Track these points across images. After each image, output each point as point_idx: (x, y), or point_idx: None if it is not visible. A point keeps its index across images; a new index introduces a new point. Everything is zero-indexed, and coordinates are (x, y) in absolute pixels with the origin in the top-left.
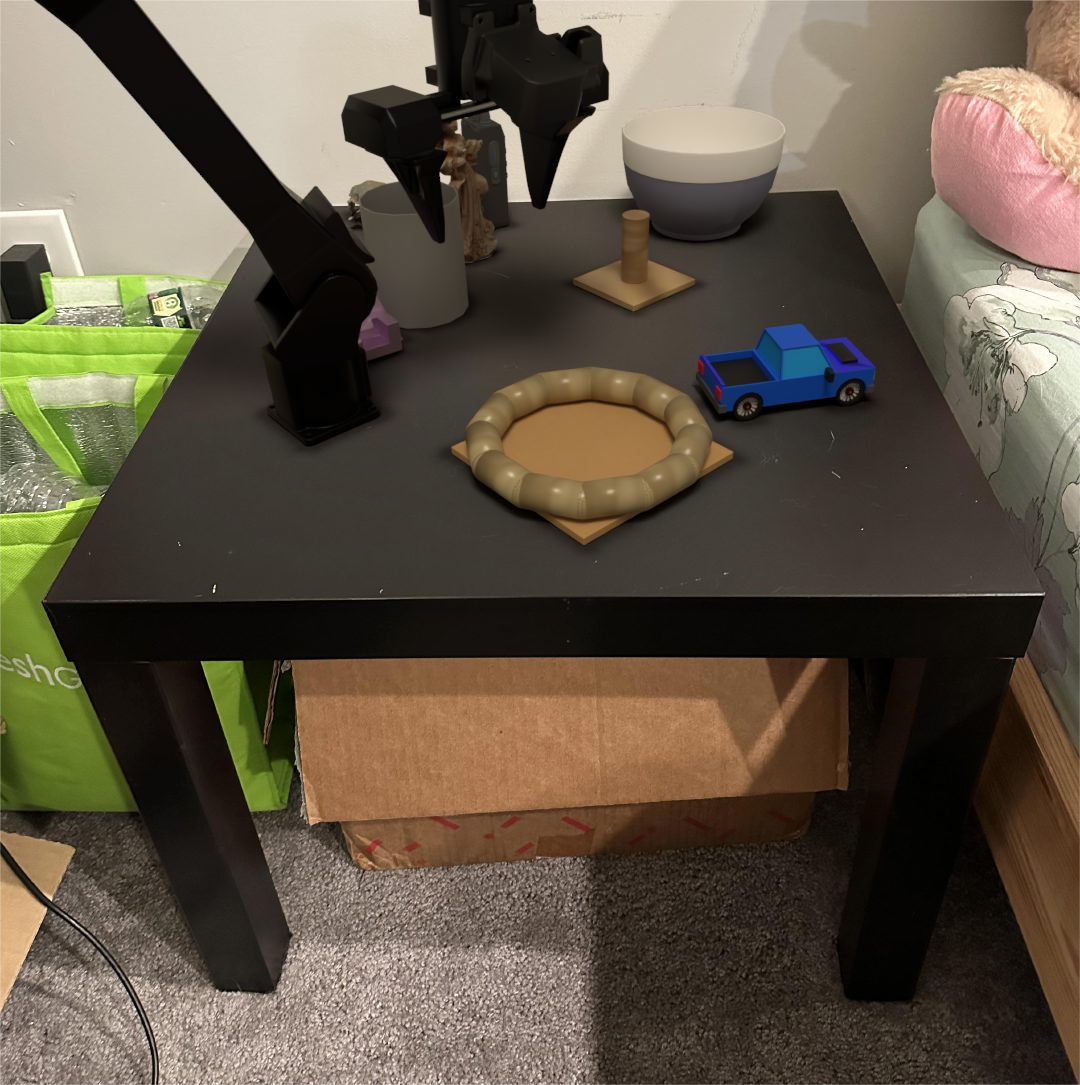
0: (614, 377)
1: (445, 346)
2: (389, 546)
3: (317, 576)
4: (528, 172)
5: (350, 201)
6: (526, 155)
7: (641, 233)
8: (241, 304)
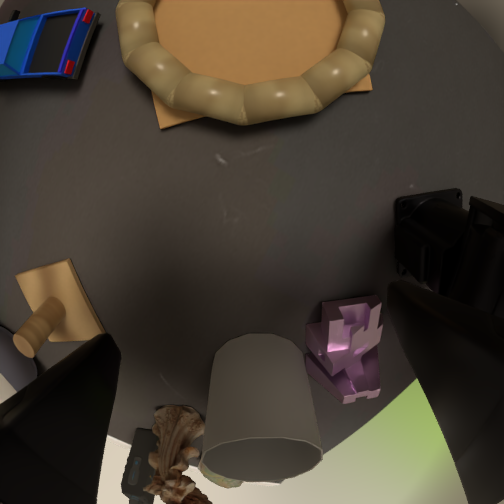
0: (162, 60)
1: (275, 294)
2: (446, 29)
3: (484, 44)
4: (103, 414)
5: None
6: (95, 447)
7: (26, 325)
8: (372, 410)
